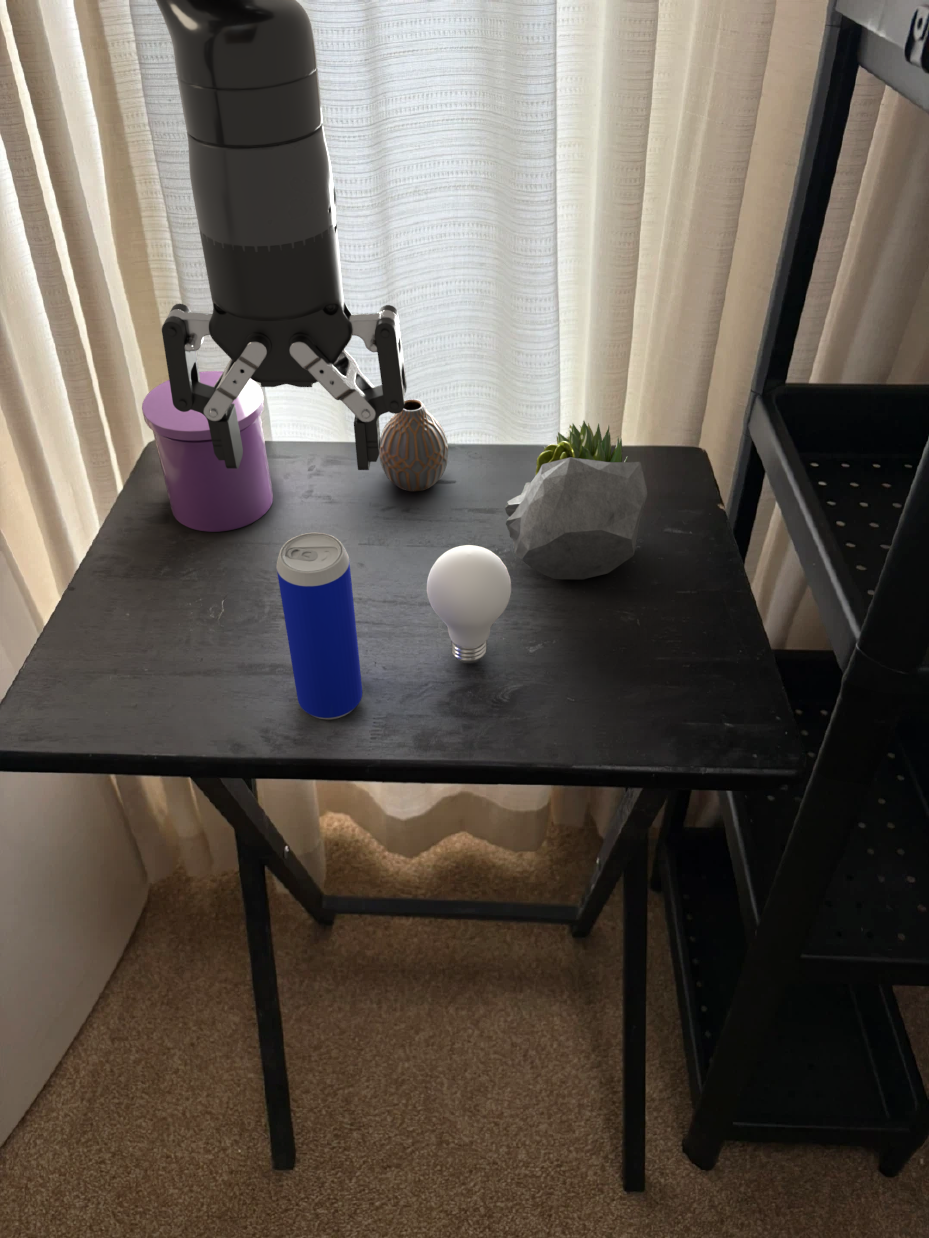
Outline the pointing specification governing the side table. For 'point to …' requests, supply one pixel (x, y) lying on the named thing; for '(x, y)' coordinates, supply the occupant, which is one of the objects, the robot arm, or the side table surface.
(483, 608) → the light bulb
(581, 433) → the potted plant
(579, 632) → the side table surface
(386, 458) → the vase
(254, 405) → the jar
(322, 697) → the beverage can
